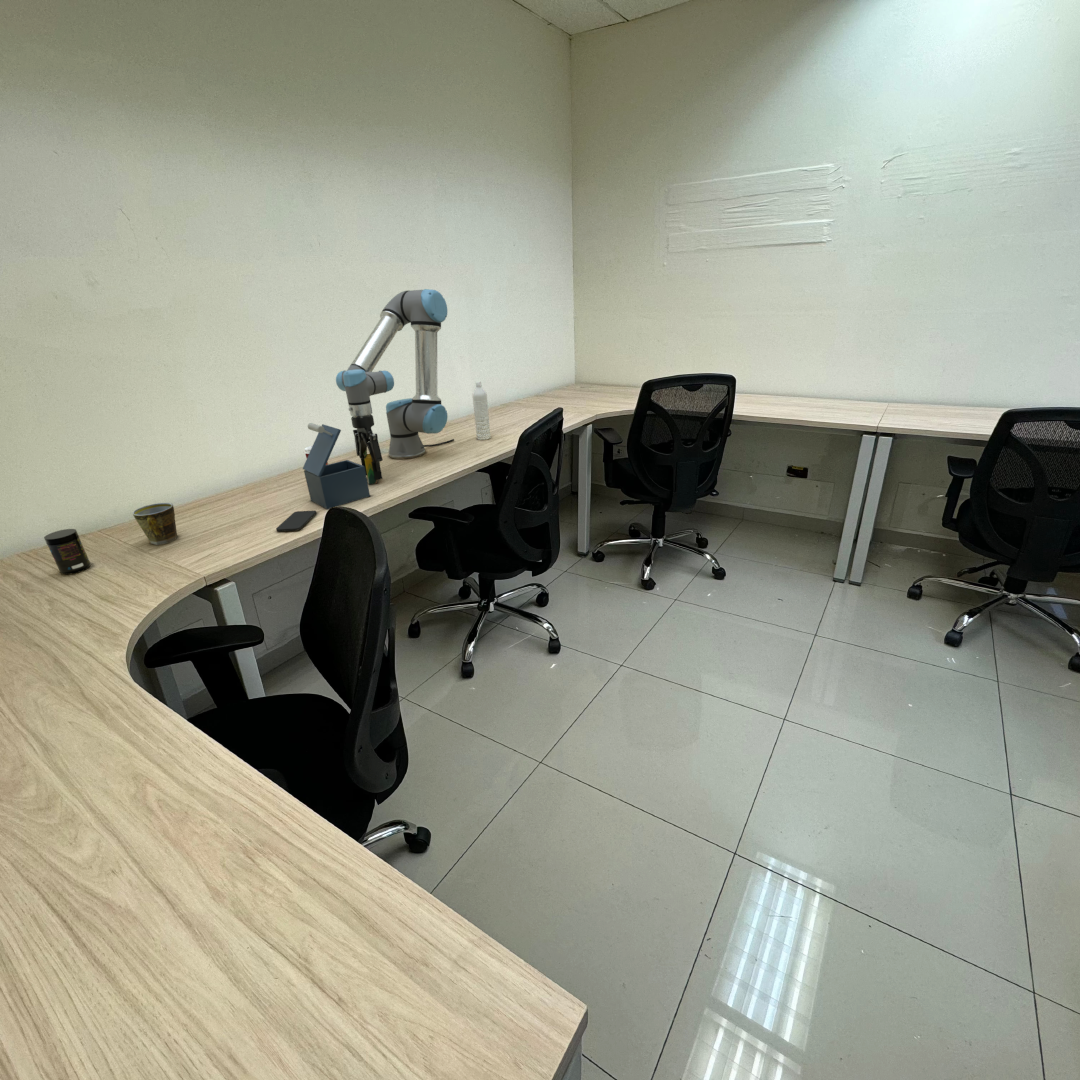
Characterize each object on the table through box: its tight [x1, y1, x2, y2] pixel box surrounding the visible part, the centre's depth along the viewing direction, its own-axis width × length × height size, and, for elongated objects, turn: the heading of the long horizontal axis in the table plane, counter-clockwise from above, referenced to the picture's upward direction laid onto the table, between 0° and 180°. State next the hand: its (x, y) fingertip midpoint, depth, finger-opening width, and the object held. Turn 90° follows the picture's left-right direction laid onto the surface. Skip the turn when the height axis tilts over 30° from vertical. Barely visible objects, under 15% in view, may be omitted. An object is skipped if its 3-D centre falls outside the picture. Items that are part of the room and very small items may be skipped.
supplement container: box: [43, 528, 91, 575], centre depth 146 cm, size 7×7×10 cm
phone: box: [275, 510, 317, 532], centre depth 171 cm, size 7×1×15 cm
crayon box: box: [364, 448, 378, 485], centre depth 203 cm, size 7×3×12 cm, turn 9°
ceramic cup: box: [132, 502, 178, 546], centre depth 160 cm, size 13×10×10 cm
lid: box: [302, 422, 342, 477], centre depth 178 cm, size 16×13×6 cm
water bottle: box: [472, 381, 492, 441], centre depth 252 cm, size 9×6×25 cm
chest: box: [303, 459, 371, 510], centre depth 187 cm, size 16×13×11 cm
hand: (373, 477), depth 205 cm, fingers closed on crayon box, 7 cm apart
